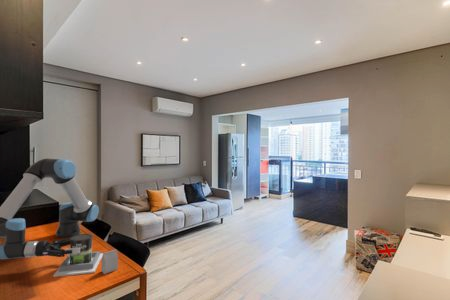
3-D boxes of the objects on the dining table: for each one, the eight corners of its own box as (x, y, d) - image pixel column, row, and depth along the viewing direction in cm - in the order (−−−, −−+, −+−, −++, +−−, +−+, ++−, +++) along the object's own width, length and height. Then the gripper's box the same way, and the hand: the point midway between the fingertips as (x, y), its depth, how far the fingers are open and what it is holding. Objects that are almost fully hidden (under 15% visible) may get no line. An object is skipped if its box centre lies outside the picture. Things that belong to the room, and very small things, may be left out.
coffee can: (88, 266, 125) (89, 239, 126) (66, 268, 123) (67, 241, 123) (93, 257, 135) (94, 233, 135) (73, 259, 133) (74, 234, 133)
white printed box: (117, 269, 125) (118, 250, 125) (104, 274, 120) (104, 254, 120) (114, 267, 128) (115, 248, 128) (101, 271, 122) (102, 252, 123)
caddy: (69, 257, 137) (69, 251, 137) (103, 254, 142) (103, 248, 142) (53, 276, 116) (53, 270, 116) (94, 272, 121) (94, 266, 121)
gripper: (47, 246, 135) (89, 243, 141) (24, 267, 111) (76, 262, 117) (48, 233, 135) (89, 230, 141) (25, 251, 111) (76, 247, 117)
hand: (83, 245), depth 129 cm, fingers open, 13 cm apart
